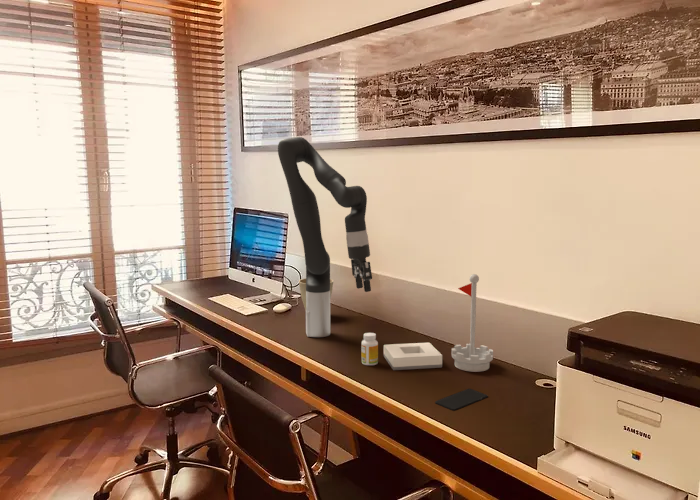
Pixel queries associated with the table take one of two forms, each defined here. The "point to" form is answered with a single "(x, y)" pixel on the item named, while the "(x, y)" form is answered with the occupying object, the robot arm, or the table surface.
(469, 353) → the flag stand
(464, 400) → the smartphone
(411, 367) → the socket block
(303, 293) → the plant pot
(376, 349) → the supplement bottle
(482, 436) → the table surface
